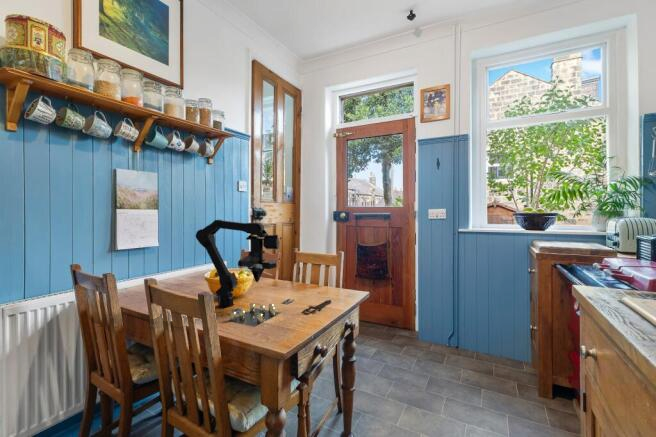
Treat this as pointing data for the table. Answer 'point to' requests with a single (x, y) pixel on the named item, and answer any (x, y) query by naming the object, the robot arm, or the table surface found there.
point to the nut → (237, 310)
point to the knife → (316, 307)
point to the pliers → (287, 302)
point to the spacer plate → (254, 315)
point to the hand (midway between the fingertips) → (256, 281)
